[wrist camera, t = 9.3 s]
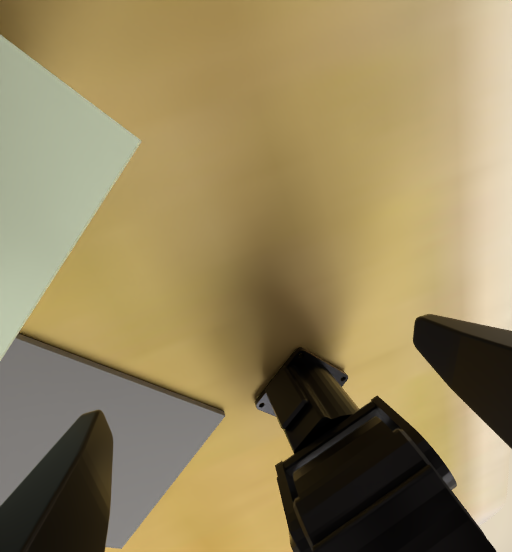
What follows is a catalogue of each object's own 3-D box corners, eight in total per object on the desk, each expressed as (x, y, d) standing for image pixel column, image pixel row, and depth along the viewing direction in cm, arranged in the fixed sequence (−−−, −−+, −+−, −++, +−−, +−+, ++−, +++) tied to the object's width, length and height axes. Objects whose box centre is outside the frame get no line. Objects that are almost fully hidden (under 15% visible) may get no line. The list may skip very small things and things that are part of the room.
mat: (224, 411, 25) (225, 415, 24) (122, 542, 27) (121, 548, 26) (15, 332, 18) (11, 336, 18) (-102, 515, 20) (-108, 523, 20)
